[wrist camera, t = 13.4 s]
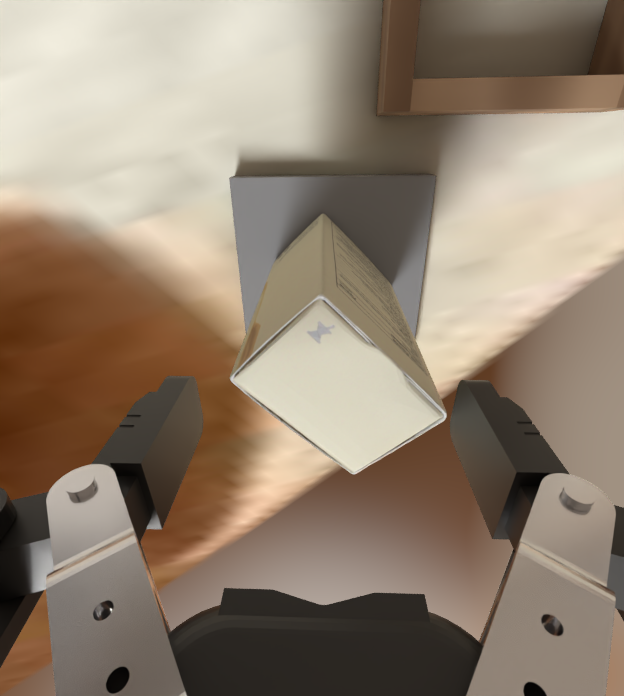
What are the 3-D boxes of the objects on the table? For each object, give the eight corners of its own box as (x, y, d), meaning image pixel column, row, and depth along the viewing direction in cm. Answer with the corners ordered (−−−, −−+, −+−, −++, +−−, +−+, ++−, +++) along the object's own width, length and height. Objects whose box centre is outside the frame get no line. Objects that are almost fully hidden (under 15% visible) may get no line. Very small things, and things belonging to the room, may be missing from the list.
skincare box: (271, 262, 23) (214, 375, 12) (323, 209, 21) (313, 282, 10) (344, 333, 25) (352, 483, 14) (397, 289, 23) (453, 420, 12)
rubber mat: (251, 347, 27) (248, 355, 26) (234, 176, 21) (229, 177, 20) (409, 348, 26) (412, 357, 25) (430, 174, 21) (436, 175, 20)
